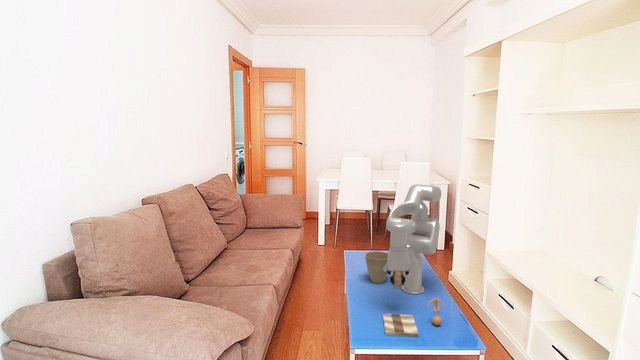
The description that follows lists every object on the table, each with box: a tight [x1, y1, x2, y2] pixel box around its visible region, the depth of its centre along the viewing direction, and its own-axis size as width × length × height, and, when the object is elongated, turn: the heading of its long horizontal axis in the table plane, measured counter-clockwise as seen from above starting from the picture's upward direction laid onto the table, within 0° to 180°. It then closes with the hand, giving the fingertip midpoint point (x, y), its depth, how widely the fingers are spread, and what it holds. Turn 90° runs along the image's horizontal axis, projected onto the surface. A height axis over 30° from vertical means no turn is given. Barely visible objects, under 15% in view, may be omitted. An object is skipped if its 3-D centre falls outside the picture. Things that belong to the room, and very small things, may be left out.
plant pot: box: [364, 250, 388, 284], centre depth 213 cm, size 15×15×16 cm
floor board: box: [382, 313, 420, 338], centre depth 164 cm, size 16×14×2 cm
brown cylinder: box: [392, 271, 403, 290], centre depth 176 cm, size 4×4×9 cm
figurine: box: [427, 297, 446, 326], centre depth 165 cm, size 8×6×12 cm
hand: (397, 283), depth 176 cm, fingers closed on brown cylinder, 4 cm apart
